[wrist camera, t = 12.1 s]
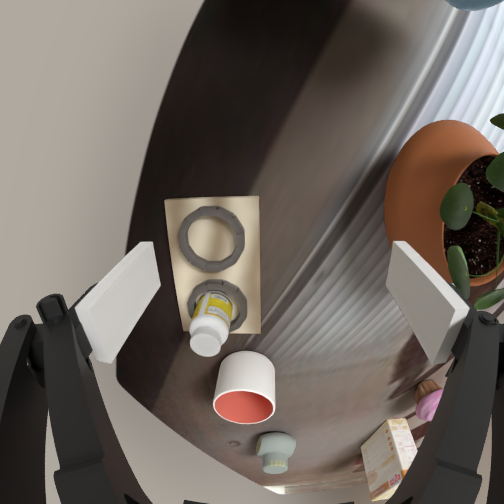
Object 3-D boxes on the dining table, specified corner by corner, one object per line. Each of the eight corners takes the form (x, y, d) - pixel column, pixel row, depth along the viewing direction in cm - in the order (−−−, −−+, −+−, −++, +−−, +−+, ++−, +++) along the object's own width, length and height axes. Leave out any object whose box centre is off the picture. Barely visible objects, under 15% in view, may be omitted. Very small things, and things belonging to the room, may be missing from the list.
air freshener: (263, 425, 57) (262, 460, 48) (297, 428, 57) (299, 462, 48) (254, 444, 61) (253, 476, 52) (285, 447, 61) (285, 478, 52)
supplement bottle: (206, 321, 45) (193, 363, 36) (193, 293, 43) (176, 332, 34) (238, 315, 44) (231, 357, 35) (226, 286, 42) (216, 325, 33)
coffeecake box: (378, 445, 62) (391, 498, 44) (359, 447, 62) (369, 502, 44) (406, 417, 56) (426, 474, 38) (386, 418, 56) (404, 480, 38)
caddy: (258, 195, 38) (258, 199, 35) (260, 329, 46) (260, 339, 44) (166, 199, 38) (160, 202, 36) (184, 327, 47) (181, 336, 44)
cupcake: (413, 377, 50) (428, 409, 41) (443, 368, 49) (460, 397, 40) (404, 401, 53) (416, 431, 44) (433, 392, 52) (447, 420, 43)
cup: (277, 381, 51) (278, 422, 41) (227, 385, 52) (221, 425, 42) (270, 344, 47) (270, 387, 38) (214, 349, 48) (205, 391, 39)
